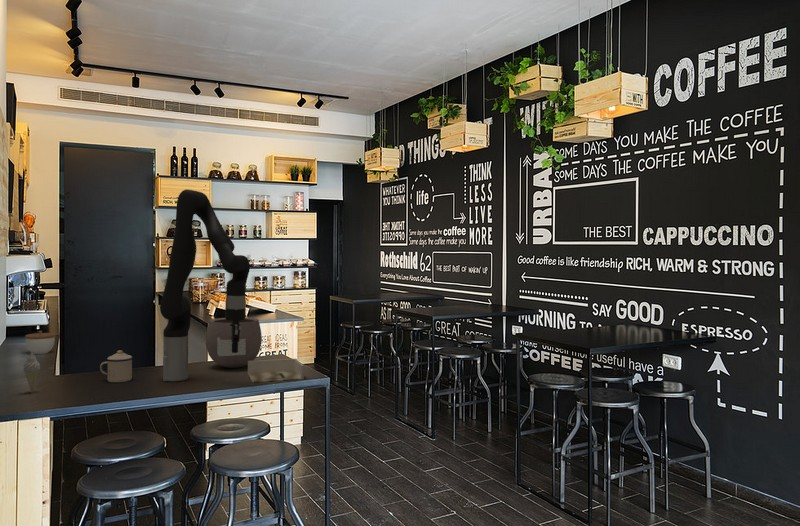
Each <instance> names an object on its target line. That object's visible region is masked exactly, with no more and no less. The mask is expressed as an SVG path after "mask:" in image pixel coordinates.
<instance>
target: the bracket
mask: <svg viewBox="0 0 800 526" xmlns="http://www.w3.org/2000/svg"><path fill="white" fill-rule="evenodd" d="M231 341H232V340H220V338H217V353H218V356H231V355H246V344H245V339H239V342H238V352H237V353H232V342H231Z"/></svg>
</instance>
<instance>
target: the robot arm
mask: <svg viewBox="0 0 800 526" xmlns="http://www.w3.org/2000/svg"><path fill="white" fill-rule="evenodd" d="M175 210H176V212H175V225H174V233H173V241H172V244H171V245H172V246H171V251H170V256H169V262H168V263H169V264H168V269H167V276H166V283H165V286H164V290H163V293H162V298H161V300H160V305H159V310H160V314H161V316H162V317H163V318H164V319H165V320H167V321H168V322H167V324H166V326H165V327H164V328H163V333H162V335H163V337H162V338H163V347H162V348H163V352H162V353H163V357H162V381H163V382H179V381H180V382H181V381H185V380H188V379H189V331H190V327H191V318H192V317H191V314H192V310H191V309H192V308H191V303H190V300H189V298H187V296H185V295H183V293H184V288H185V285H186V283H187V280H188V278H189V276H190V275H191V273H192V271H193V268H194V265H195V262H196V257H197V242H196V239H195V235H194V232H193V219H194V215H196V216H197V217H198V218H199V219H200V220H201V221H202V223H203V224H204V227H205V229H206V236H207V239H208V240H209V243H210V244H211V246H212V248H213V249H214V250H215V252H216V253H217V255H218V258H219V261H220V264H221V266H222V269H223V270H224V271H225V272H226V273H228V274H230V275H231V274H233V276H232V278H231V279H229V280H228V281H227V283H226V291H225V293H226V294H225V295H226V296H225V306H224V307H225V308H224V310H225V311H224V313H225V314H224V315H225V316H224V318H225V319H226V320H232V324H230V336H231V340H232V341H231V342H232V353H237V352H238V342H239V337H240V330H241V325H240V324H239V321H240V320H245V318H247V317H246V313H247V311H246V310H247V307H246V306H247V303H246V302H247V300H246V284H247V281H248V277H249V274H250V268H251V264H250V261H249V259H248V257H247V256H245V255H242V254H238V255H237V254H235V253H234V250H235V248H236V247H235V244H234V242H233V240H232V239H231V238H230V236H229V235H228V233H227V232H226V231H225V229H224V227H223V226H222V224H221V222H220V221H219V218H218V216H217V214H216V213H215V210H214V208H213V206H212V204H211V202H210V200H209V197H208V196H207V195H206V194H205V193H203V191H202V192H201V191H199V190H198V191H197V190H194V189H184V190H182V191H181V192H180V193H179V194H178V197H177V200H176V209H175Z"/></svg>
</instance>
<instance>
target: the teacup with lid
mask: <svg viewBox="0 0 800 526" xmlns="http://www.w3.org/2000/svg"><path fill="white" fill-rule="evenodd" d="M106 360H107V361H103V362H101V364H100V365H99V370H100V372H101V373H102V374H103V375H106V376H107V382H109V383H125V382H130V381H132V379H133V363H132V362H133V356H132V355H129V354H127V353H125V352H124V351H123V350H117V351H116V353H114V354H113V355H110V356H108V357H107V359H106ZM105 364H106V365H107V371H105V370H104V369H103V366H104V365H105Z"/></svg>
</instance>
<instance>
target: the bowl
mask: <svg viewBox="0 0 800 526" xmlns="http://www.w3.org/2000/svg"><path fill="white" fill-rule="evenodd" d="M24 338H25V346H26V348H27V350H28V351H29V352H30V353H31V351H32V352H33V354H34V355H44V354H45V355H47V354H49V353H50V352H51V350H52V349H53V347H54V345H55V341H56V340H55V338H56V334H55V333H53V332H43V331H42V330H38V333H28V334H25V337H24Z"/></svg>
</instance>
